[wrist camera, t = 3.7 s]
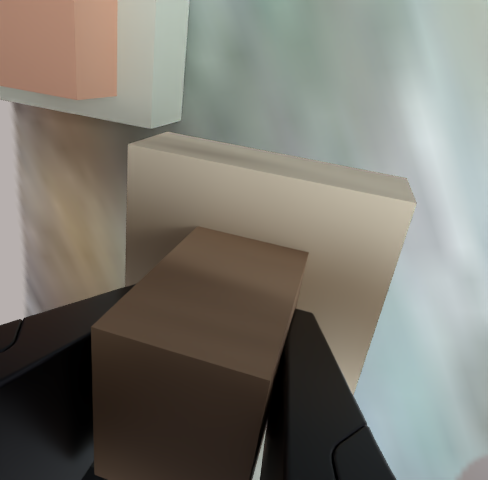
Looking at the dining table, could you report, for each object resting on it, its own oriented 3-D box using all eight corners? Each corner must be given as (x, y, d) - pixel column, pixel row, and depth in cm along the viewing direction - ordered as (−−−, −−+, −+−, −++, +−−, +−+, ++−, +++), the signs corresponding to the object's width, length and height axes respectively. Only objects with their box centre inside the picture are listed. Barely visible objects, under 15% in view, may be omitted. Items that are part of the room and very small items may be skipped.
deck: (181, 120, 19) (150, 128, 16) (48, 95, 20) (0, 99, 17) (194, -63, 16) (159, -90, 13) (38, -78, 17) (-22, -106, 15)
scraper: (345, 376, 12) (330, 624, 7) (156, 321, 13) (13, 496, 8) (406, 178, 9) (462, 318, 4) (167, 131, 11) (-33, 194, 5)
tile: (117, 95, 16) (76, 100, 14) (28, 80, 17) (-23, 81, 15) (117, -24, 14) (72, -41, 12) (20, -36, 15) (-40, -54, 13)
